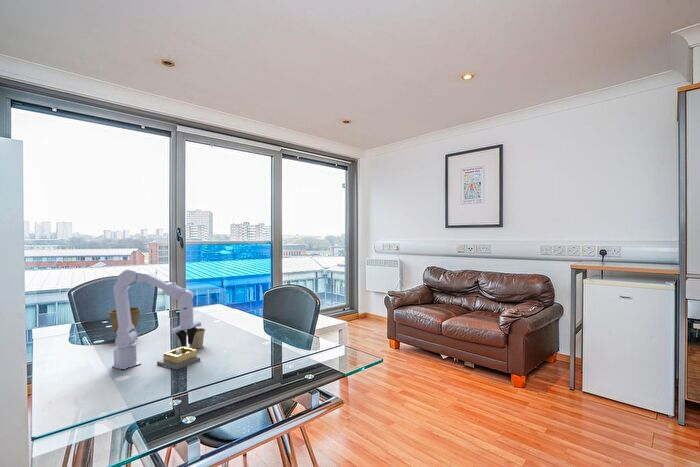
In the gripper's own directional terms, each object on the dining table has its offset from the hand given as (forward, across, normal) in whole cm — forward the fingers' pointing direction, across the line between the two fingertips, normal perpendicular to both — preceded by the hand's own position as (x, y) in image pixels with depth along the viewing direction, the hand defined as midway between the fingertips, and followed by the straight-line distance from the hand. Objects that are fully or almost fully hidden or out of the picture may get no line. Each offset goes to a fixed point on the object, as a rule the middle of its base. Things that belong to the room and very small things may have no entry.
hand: (187, 345), depth 162 cm
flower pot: (+7, +14, +12) cm, 19 cm away
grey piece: (+7, -4, 0) cm, 8 cm away
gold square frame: (+5, -4, 0) cm, 6 cm away
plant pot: (+7, +7, +65) cm, 66 cm away
